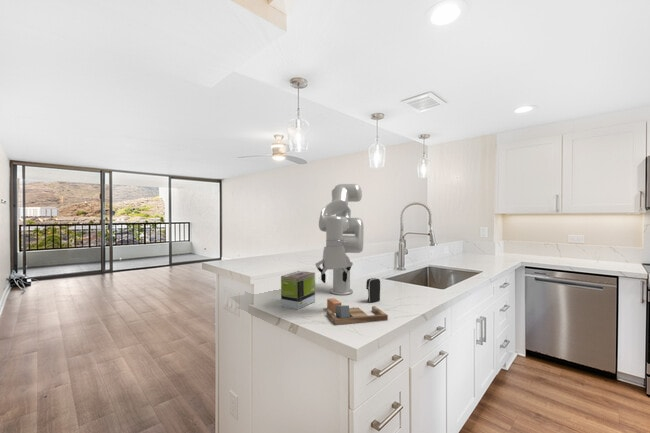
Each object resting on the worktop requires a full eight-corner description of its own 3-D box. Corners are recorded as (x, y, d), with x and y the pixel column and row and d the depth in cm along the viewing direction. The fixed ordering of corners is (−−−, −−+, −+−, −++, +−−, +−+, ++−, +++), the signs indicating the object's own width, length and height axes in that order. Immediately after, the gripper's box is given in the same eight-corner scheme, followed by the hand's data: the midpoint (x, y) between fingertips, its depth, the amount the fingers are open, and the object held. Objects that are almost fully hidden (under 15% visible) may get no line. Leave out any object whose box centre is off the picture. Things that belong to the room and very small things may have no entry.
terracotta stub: (327, 308, 138) (327, 298, 138) (334, 307, 140) (334, 298, 140) (334, 313, 131) (334, 303, 131) (341, 312, 132) (341, 302, 132)
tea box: (299, 298, 153) (299, 270, 153) (315, 301, 148) (315, 272, 148) (280, 306, 140) (280, 275, 140) (297, 310, 135) (297, 277, 135)
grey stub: (335, 317, 126) (335, 305, 127) (343, 316, 127) (342, 305, 128) (341, 318, 119) (340, 306, 120) (349, 317, 120) (348, 305, 121)
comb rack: (326, 314, 129) (326, 310, 129) (374, 310, 135) (374, 306, 135) (335, 325, 117) (335, 319, 117) (387, 320, 123) (387, 315, 123)
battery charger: (375, 299, 153) (375, 276, 153) (380, 300, 150) (380, 278, 150) (365, 301, 149) (365, 278, 149) (370, 303, 146) (370, 279, 146)
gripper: (349, 242, 141) (349, 279, 141) (313, 243, 136) (313, 281, 136) (355, 244, 133) (355, 282, 133) (317, 244, 129) (317, 284, 129)
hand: (334, 281), depth 135 cm, fingers open, 9 cm apart
